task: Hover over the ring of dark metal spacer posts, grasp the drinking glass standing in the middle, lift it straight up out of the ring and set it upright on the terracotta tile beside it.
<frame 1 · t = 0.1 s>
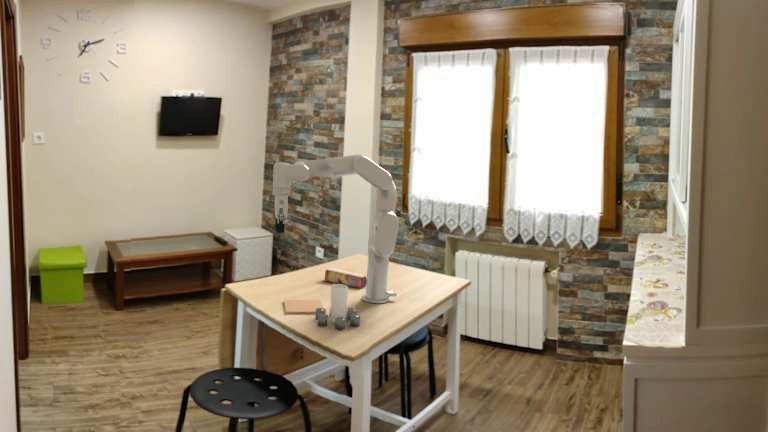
hand: (279, 230, 262), 31 cm above the table, tool pointing down, fingers open, 9 cm apart
snack package: (345, 284, 300), on the table
terracotta tile: (303, 307, 258), on the table
drinking glass: (337, 322, 244), on the table
spacer posts: (337, 322, 244), on the table
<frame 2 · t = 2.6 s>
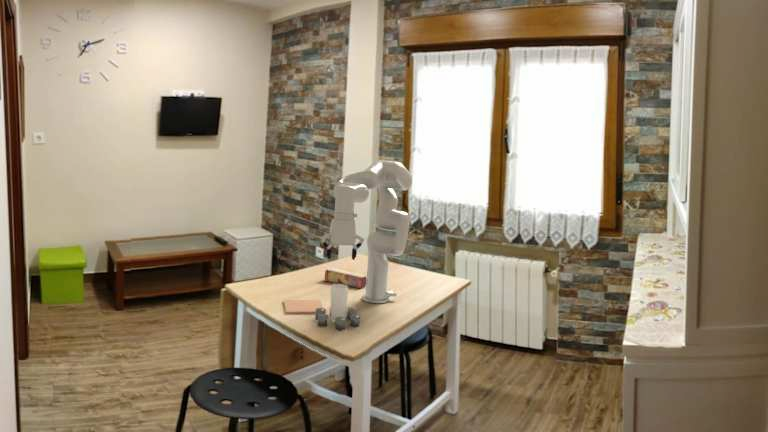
hand: (341, 258, 239), 26 cm above the table, tool pointing down, fingers open, 9 cm apart
nothing on the table moved.
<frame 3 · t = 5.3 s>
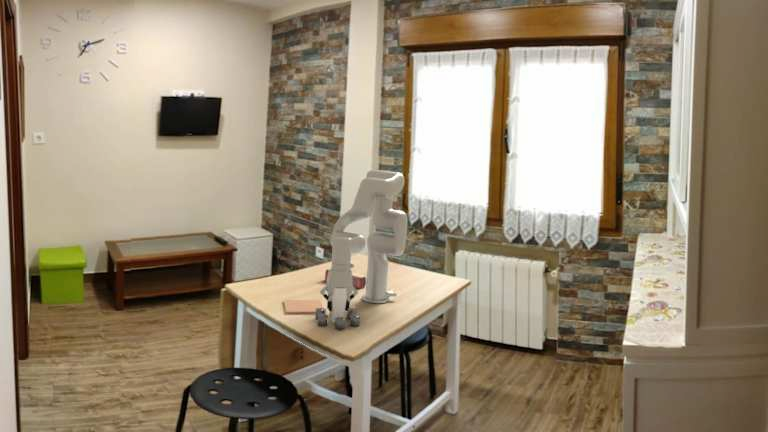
hand: (338, 309, 243), 5 cm above the table, tool pointing down, fingers closed on drinking glass, 6 cm apart
drinking glass: (337, 322, 244), on the table, touching gripper
everything else where it was.
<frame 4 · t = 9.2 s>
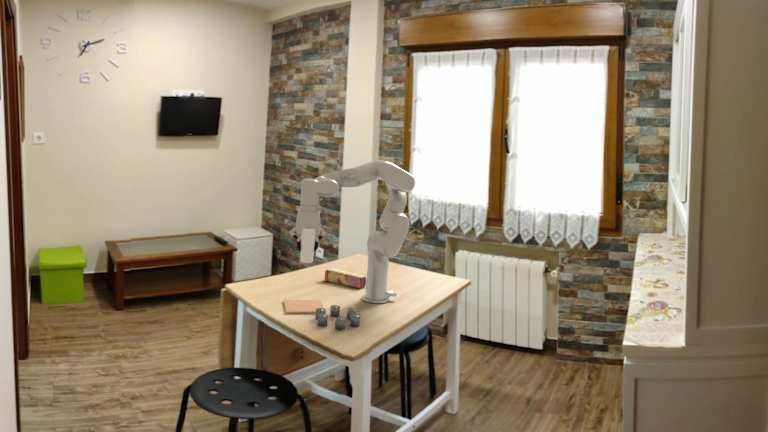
hand: (307, 250, 254), 25 cm above the table, tool pointing down, fingers closed on drinking glass, 6 cm apart
drinking glass: (306, 262, 255), point 20 cm above the table, touching gripper
everything else where it was.
when the fingers open (7 cm above the table, at t = 13.5 s): drinking glass drops 1 cm, resting on terracotta tile.
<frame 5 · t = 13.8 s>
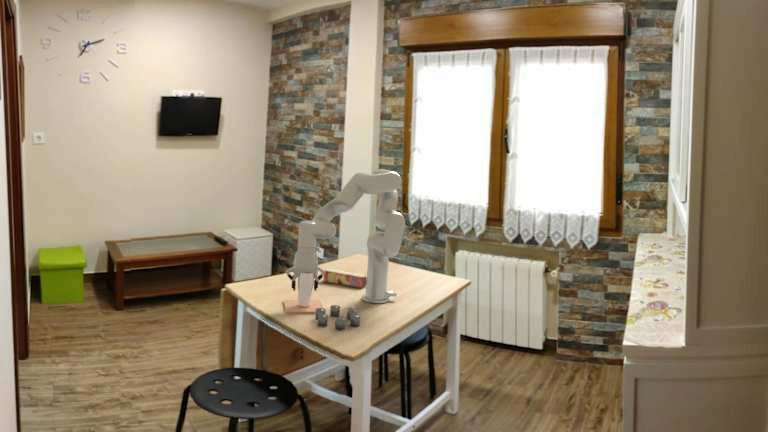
hand: (304, 289, 257), 8 cm above the table, tool pointing down, fingers open, 8 cm apart
drinking glass: (303, 306, 258), point 1 cm above the table, touching terracotta tile
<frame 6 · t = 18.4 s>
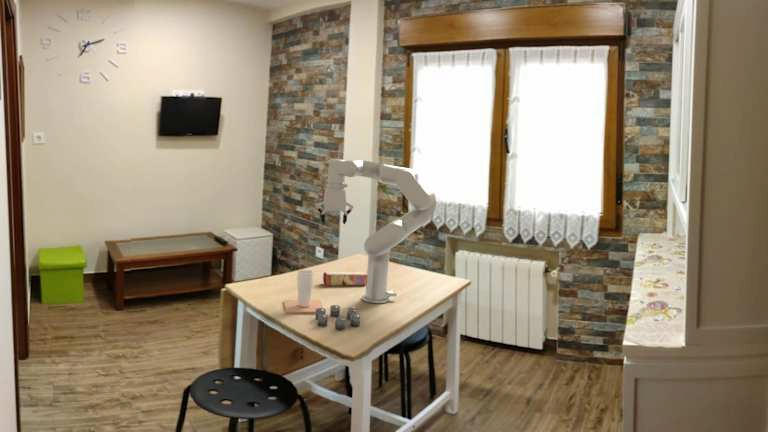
hand: (333, 223, 277), 33 cm above the table, tool pointing down, fingers open, 9 cm apart
at the end: drinking glass inside the target area on the terracotta tile (0.1 cm from its centre), point 0.8 cm above the terracotta tile's base; drinking glass tilted 0°; the gripper is holding nothing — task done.
